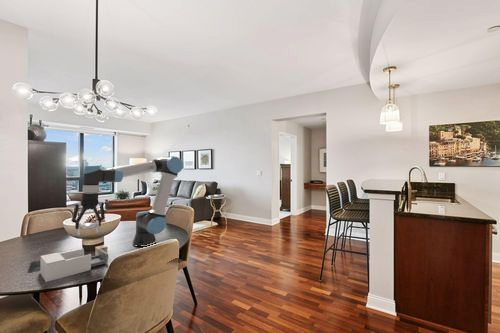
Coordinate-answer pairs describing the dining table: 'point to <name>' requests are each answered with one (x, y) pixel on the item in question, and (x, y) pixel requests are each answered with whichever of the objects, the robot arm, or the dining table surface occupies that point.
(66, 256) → the white drawer housing
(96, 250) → the oak block
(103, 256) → the tray
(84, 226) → the shiny silver disc
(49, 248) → the dining table surface
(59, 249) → the dining table surface
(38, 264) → the smartphone
